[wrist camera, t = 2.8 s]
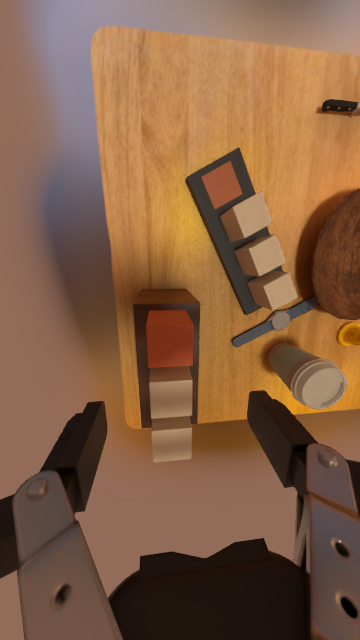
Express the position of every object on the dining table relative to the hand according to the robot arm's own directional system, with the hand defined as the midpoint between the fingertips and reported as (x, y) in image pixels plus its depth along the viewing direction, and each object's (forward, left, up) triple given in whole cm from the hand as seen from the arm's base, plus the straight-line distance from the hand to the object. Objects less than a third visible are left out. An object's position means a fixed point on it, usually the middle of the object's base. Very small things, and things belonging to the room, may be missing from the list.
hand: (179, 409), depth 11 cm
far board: (+17, +4, -28) cm, 33 cm away
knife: (+42, +12, -28) cm, 52 cm away
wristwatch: (+18, -13, -28) cm, 36 cm away
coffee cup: (+16, -21, -28) cm, 39 cm away
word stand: (-3, -5, -28) cm, 28 cm away
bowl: (+34, -8, -28) cm, 45 cm away
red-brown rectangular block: (0, 0, -15) cm, 15 cm away
